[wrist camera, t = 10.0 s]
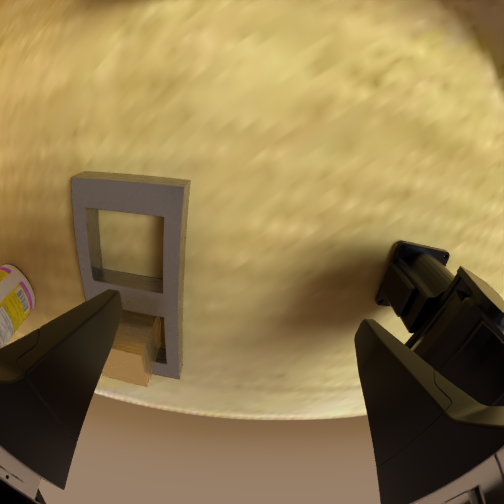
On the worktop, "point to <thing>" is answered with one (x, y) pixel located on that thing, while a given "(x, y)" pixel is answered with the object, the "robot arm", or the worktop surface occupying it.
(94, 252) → the grey double window frame
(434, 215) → the worktop surface
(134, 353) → the wooden block
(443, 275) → the robot arm
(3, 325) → the supplement bottle
